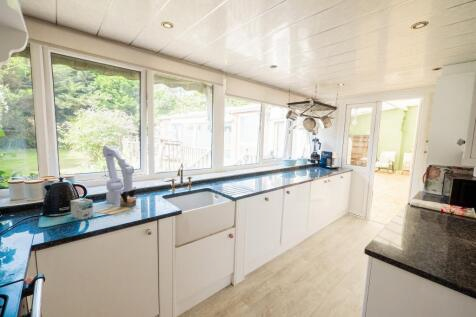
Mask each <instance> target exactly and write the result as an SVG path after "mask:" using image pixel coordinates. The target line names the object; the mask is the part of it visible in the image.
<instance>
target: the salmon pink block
mask: <svg viewBox="0 0 476 317" xmlns="http://www.w3.org/2000/svg"><path fill="white" fill-rule="evenodd" d="M134 200H136V201H137V197H136V196H134V197H130V196H129V195H128V196H127V201H128V202H132V201H134ZM120 201H123V199H122V196H121V198H120Z"/></svg>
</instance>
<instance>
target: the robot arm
mask: <svg viewBox="0 0 476 317" xmlns="http://www.w3.org/2000/svg"><path fill="white" fill-rule="evenodd" d="M101 152H102V155H103V157H104V159H105V161H106V162H105V163H106V167H107V171H108V177H109V179H108V180H107V181H106V189H107V191H106V194H105V195H106V196H105V198H106V200H105V202H104V203H105V204H107V203H108V204H119V203H120V198H121V197H122V199H123V201H124V202H127V196H130V197H135V194H136V192H137V186H133V174H134V172H135V170H134V166H133V165H130V164H129V162H128V161H127V160H126V158H123V156H122V154H121V153H120V147H119V146H118V145H104V146H102V151H101ZM114 158H115V159H116V161H117V165H118V166H119V168H120V170H121V171H120V172H121V175H122V178H121V179H120V178H119V177H118V174H117V169H116V164H115V160H114ZM122 179H123V180H122Z"/></svg>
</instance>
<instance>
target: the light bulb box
mask: <svg viewBox="0 0 476 317" xmlns="http://www.w3.org/2000/svg"><path fill="white" fill-rule="evenodd" d="M93 204H94V202H93V199H88V198H84V197H83V198H82V197H80V198H76V199H72V200H70V217H71V218H73V217H74V219H79V220H85V219H89V218H91V216H92V217H94V205H93ZM88 217H89V218H88Z"/></svg>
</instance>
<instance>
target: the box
mask: <svg viewBox="0 0 476 317" xmlns="http://www.w3.org/2000/svg"><path fill="white" fill-rule="evenodd" d="M119 203H120V205H119V206H120V207H128V208H134V207H135V206H137V199H136V200H134V201H132V202H128V201H127V202H124V201H120V202H119Z"/></svg>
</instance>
